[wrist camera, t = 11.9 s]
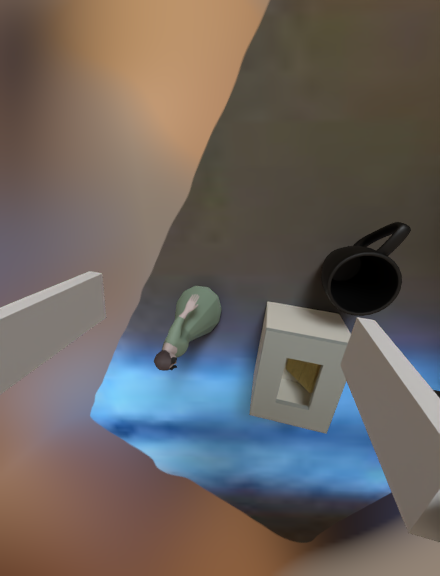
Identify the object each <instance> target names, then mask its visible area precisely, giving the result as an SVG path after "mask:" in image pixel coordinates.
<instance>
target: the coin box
mask: <svg viewBox="0 0 440 576" xmlns="http://www.w3.org/2000/svg"><path fill="white" fill-rule="evenodd" d="M350 336H351V334H350V332H349V330H348V328H347V327H346V325H345V323H344V321H343V320H342V318H341V316H340V314H338V313H332V312H326V311H320V310H314V309H309V308H303V307H297V306H291V305H285V304H279V303H274V302H268V301H267V307H266V312H265V317H264V322H263V328H262V333H261V338H260V343H259V349H258V354H257V359H256V364H255V370H254V376H253V386H252V396H251V405H250V415H252V416H256V417H260V418H265V419H269V420H273V421H277V422H281V423H285V424H289V425H293V426H297V427H301V428H305V429H309V430H314V431H318V432H322V433H327V431H328V428H329V425H330V423H331V420H332V418H333V415H334V412H335V410H336V407H337V404H338V402H339V399H340V396H341V394H342V391H343V388H344V386H345V383H346V378H345V376H344V373H343V371H342V368H341V366H340V364H341V361H342V358H343V356H344V353H345V350H346V347H347V344H348V341H349V339H350ZM288 358H290V359H295V360H300V361H305V362H310V363H314V364H319V365H321V367H320V370H319V374H318V377H317V380H316V383H315V386H314V389H313V392H312V393H309V392H308V391H307V390H306V389H305V388H304V387H303V386H302V385H301V384H300V383H299V382H298V381H297V380H296V379H295V378H294V377H293V376H292V375H291V374H290V373H289V372H288V371H287V369H286V365H287V361H288Z"/></svg>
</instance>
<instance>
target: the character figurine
mask: <svg viewBox="0 0 440 576" xmlns="http://www.w3.org/2000/svg"><path fill="white" fill-rule="evenodd" d="M220 314H221V305H220V301H219V298H218V296H217V295H216V294H215V293H214V292H213V291H212V290H211V289H209V288H208V287H201V286H194V287H192V288H190V289H188V290H186V291H184V292H183V294H182V295H181V297H180V298H179V300H178V301H177V306H176V314H175V321H174V323H173V325H172V326H171V328H170V330H169V332H168V333H169V334H168V336H167V338H166V340H165V342H164V344H163V348H162V351H161V352H159V353H158V354H157V355H156V357H155V359H154V363H155V365H156V367H157V368H158V369H159V370H169V369H170V370H173V369H174V368H177V366H176V365H174V364H175V363H176V361H177V357H180V356H182V355H183V354H184V353H185V352H186V351H187V348H188V346H189V342H190V341H192V340H194V339H196V338H198V337H201V336H203V335H205V334H207V333H209V332H211V331H212V330H213V329H214V327H215V326H216V325H217V324H218V322H219V319H220Z"/></svg>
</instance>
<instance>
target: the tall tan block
mask: <svg viewBox="0 0 440 576" xmlns="http://www.w3.org/2000/svg"><path fill="white" fill-rule="evenodd" d="M320 367H321V365H319V364H314V363H310V362H305V361H300V360H295V359H290V358H288V361H287V365H286V369H287V371H288V372H289V373H290V374H291V375H292V376H293V377H294V378H295V379H296V380H297V381H298V382H299V383H300V384H301V385H302V386H303V387H304V388H305V389H306V390H307V391H308V392H309V393H312V392H313V389H314V386H315V383H316V380H317V377H318V374H319V370H320Z"/></svg>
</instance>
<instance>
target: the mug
mask: <svg viewBox="0 0 440 576" xmlns="http://www.w3.org/2000/svg"><path fill="white" fill-rule="evenodd" d="M410 231H411V229H410V227H409V226H408V225H406V224H404V223H400V222H395V223H392V224H389V225H387V226H385V227H383V228H381V229H379V230H377V231H375V232H373V233H371V234H369V235H367V236H365V237H363V238H362V239H360V240H359V241H357V242H356V243H355V244H354V245H353V246H348V247H343V248H339V249H336V250H334V251H333V252H331V253H330V254H329V255H328V256H327V257H326V259H325V261H324V264H323V267H322V275H321V278H322V284H323V288H324V290H325V292H326V294H327V296H328V298H329V299H330V301H331V302H332V304H333V305H334V306H335V307H336V308H338V309H339V310H340V311H343V312H345V313H347V314H351V315H359V316H363V315H370V314H373V313H376V312H379V311H381V310H383V309H384V308H386V307H387V306H389V305H390V304H391V303H392V302H393V301H394V300H395V298H396V297H397V295H398V293H399V291H400V289H401V284H402V276H401V272H400V269H399V267H398V266H397V264H396V263H395V262H394V261H393V260H392V259H391V258H389V257H388V255H390V254H391V253H392V252H393V251H394V250H395V249H396V248H397V247H398V246H399V245H400V244H401V243H402V242H403V241H404V240H405V238H406V237H407V236H408V234H409V233H410ZM391 234H392V236H391V237H390V238H389V239H388V240H387V241H386V242H385V243H384V244H383V245H382V246H381V247H380V248H379V249H378V250H377V251H376V250H373V249H371V248H367V246H368V245H370V244H371V243H373V242H375V241H377V240H379V239H381V238H384V237H386V236H388V235H391Z"/></svg>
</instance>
